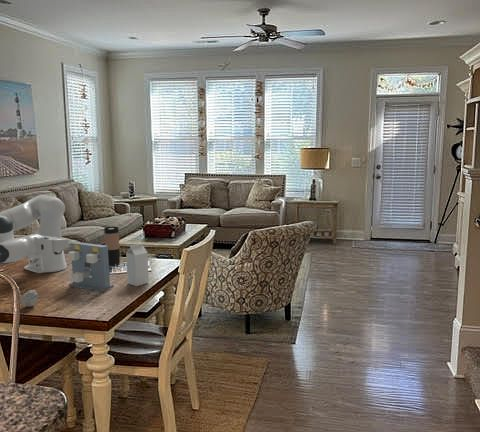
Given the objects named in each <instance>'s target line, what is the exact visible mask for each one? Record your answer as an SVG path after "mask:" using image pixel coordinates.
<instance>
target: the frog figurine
mask: <svg viewBox="0 0 480 432" xmlns="http://www.w3.org/2000/svg"><path fill="white" fill-rule="evenodd" d="M38 298H39V293H37V292H36V289H32V290H30V289H29V290H28V291H26V292H25V293H23V294H22V295H21V299H20V300H21V302H22V303H23V305H24V306H25V307H26V308H31V307H34V305H36V303H37V299H38Z"/></svg>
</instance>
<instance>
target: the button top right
mask: <svg viewBox="0 0 480 432" xmlns="http://www.w3.org/2000/svg"><path fill="white" fill-rule="evenodd" d="M86 259H87V263H96V262H98V260H100V258H99V253H97V254H93V253H90V254H87V255H86Z"/></svg>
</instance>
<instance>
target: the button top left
mask: <svg viewBox="0 0 480 432" xmlns="http://www.w3.org/2000/svg"><path fill="white" fill-rule="evenodd" d="M67 253H68V254H67V255H68V260H69V261H72V260H73V261H75V260H79V257H82V256H81V251H71V250H70V251H68V252H67Z"/></svg>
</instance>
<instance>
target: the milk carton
mask: <svg viewBox="0 0 480 432" xmlns="http://www.w3.org/2000/svg"><path fill="white" fill-rule="evenodd" d="M125 254H126V255H125V257H126V276H127V277H126V279H127V281H126V282H127V284H128V285H130V286H131V285H132V286H134V287H139V286H143V285H146V284H149V282H150V281H149V258H148V257H149V256H148V250H147V249H146V248H145V246H144V244H143V243H142V242H141V243H137V244H131V245H130V246H129V248H128V250H127V251H126V252H125Z"/></svg>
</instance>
